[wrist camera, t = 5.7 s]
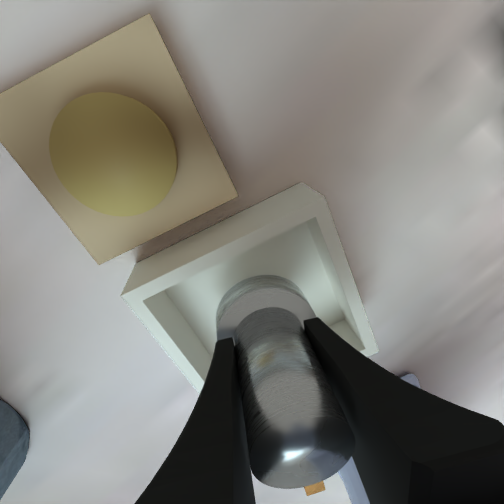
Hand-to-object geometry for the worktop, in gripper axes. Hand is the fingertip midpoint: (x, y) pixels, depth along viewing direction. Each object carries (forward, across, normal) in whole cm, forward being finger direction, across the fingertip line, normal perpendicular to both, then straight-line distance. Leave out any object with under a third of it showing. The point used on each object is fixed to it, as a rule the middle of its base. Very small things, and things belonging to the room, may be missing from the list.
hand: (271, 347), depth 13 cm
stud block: (+4, +4, -8) cm, 10 cm away
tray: (+4, 0, 0) cm, 4 cm away
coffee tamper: (+2, 0, 0) cm, 2 cm away
